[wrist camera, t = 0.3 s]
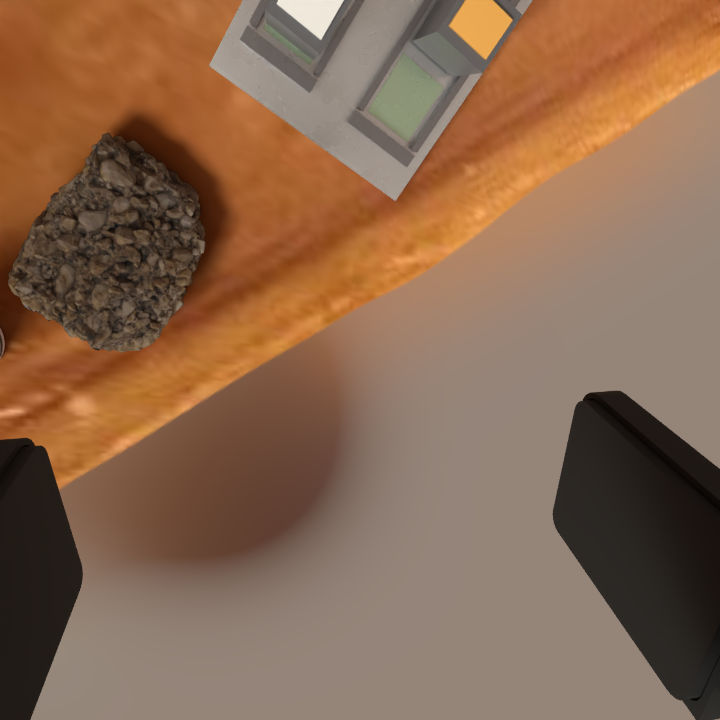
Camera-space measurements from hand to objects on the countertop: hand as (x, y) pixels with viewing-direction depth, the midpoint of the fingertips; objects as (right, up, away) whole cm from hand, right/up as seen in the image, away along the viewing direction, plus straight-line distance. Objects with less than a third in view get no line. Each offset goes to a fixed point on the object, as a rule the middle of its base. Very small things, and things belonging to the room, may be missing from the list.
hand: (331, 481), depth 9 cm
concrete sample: (-14, +10, +24) cm, 30 cm away
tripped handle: (+6, +21, +20) cm, 29 cm away
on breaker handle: (-3, +21, +19) cm, 28 cm away
